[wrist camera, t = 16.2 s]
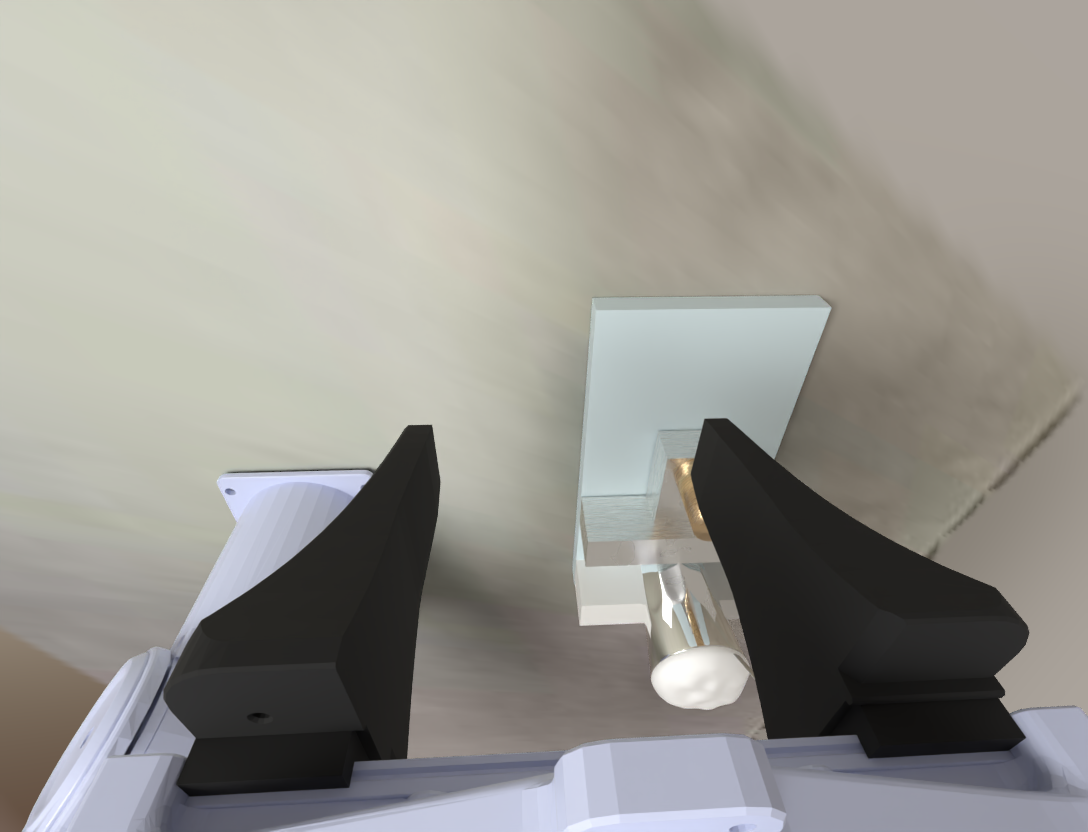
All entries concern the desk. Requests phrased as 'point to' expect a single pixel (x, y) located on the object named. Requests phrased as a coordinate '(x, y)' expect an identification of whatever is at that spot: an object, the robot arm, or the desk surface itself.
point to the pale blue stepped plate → (681, 403)
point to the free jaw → (651, 514)
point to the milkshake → (690, 638)
